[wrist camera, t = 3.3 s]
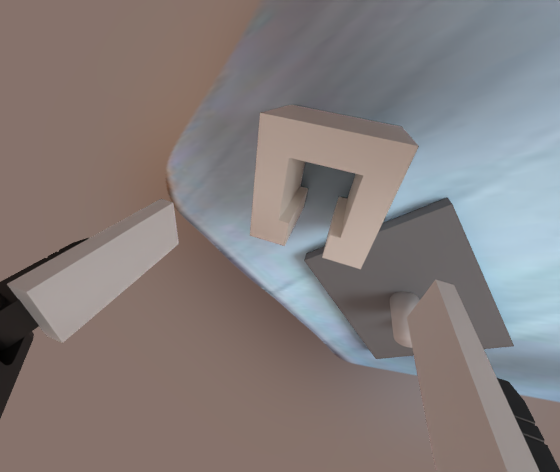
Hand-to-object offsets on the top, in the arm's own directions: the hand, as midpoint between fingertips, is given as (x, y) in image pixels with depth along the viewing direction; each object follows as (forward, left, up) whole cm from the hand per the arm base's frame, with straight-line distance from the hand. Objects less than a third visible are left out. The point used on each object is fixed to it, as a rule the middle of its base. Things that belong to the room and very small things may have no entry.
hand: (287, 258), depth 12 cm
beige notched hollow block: (0, 0, -15) cm, 15 cm away
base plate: (+18, 0, -15) cm, 24 cm away
